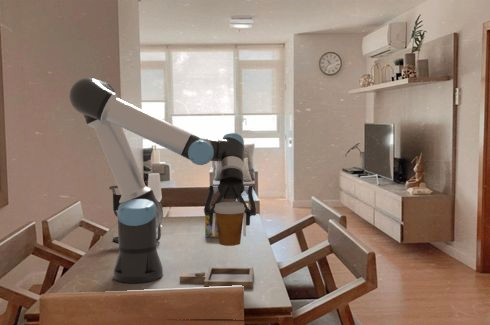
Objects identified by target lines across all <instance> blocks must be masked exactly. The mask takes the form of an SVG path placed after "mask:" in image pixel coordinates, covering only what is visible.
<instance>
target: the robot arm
mask: <svg viewBox="0 0 490 325" xmlns="http://www.w3.org/2000/svg"><path fill="white" fill-rule="evenodd" d="M69 101H70V104H71V106H72V107H73V109H74V110H75V111H77V112H78V113H80V114H82V115H83V118H84V120H85V122H86V124H87V126H88V127H90V128H92V129H93V130H94V132H95V134H96V137H97V139H98V141H99V143H100V144H99V145H100V147H101V149H102V151H103V152H102V153H103V154H104V156H105V159H106V161H107V163H108V166H109V169H110V170H111V173H112V175H113V178H114V180H115V184H116V186H118V188H117V189H118V190H119V192H120V195H121V198H120V201H119V203H120V205H119V207H118V210H117V216H116V217H117V229H118V230H117V234H118V235H117V237H118V238H119V239H118V240H119V243H118V255H117V259H116V261H115V265H114V268H113V279H114V280H115V281H117V282H120V283H127V284H139V283H140V284H141V283H147V282H148V283H149V282H153V281H156V280H159V279H160V278H162V277H163V275H164V273H163V272H164V271H163V270H164V269H163V264H162V261H161V259H160V256H159V253H158V250H157V249H158V248H157V245H158V244H157V242H158V241H157V240H156V238H157V230H158V228H157V227H158V226H159V225H160V223H161V222H162V220H163V216H164V214H163V213H164V210H163V207H162V205H161V202H158V201H157V199H156V198H155V195H154V193H153V191H152V189H151V188H149V187H148V185H146V184H145V181H144V178H143V176H142V173H141V172H140V168H139V166H138V164H137V161H136V159H135V156H134V154H133V151H132V148H131V146H130V144H129V141H128V139H127V136H126V134H125V131H124V129H125V130H127V131H129V132H130V133H133V134H135V135H137V136H140V137H142V138H144V139H146V140H148V141H150V142H152V143H155V144H156V145H158V146H161V147H163V148H164V149H167V150H169V151H171V152H173V153H174V154H178V155H179V156H181V157H183V158H185V159H187V160H190V161H191V163H193V164H194V165H198V166H204V165H208V163H210V162H220V170H219V172H220V175H219V184H218V185H217V186H213V185H209V187H208V188H209V189H208V190H209V193H208V196H207V200H206V202H205V206H204V208H203V212H204V217H205V216H207V215H208V216H209V224H210V225H212V235H213V236H215V231H216V213H215V210H214V208H215V204H217V203H222V202H226V200H236V202H239V203H243V204H244V207H245V211H244V215H243V224H242V235H243V237H247V226H250V225H251V217H252V216H253V217H255V216H257V209H256V204H255V200H254V196H253V193H254V192H253V191H254V189H253V187H254V186H253V185H249V186H245V185H244V169H245V168H244V167H245V166H244V165H245V163H244V162H245V161H244V160H245V140H244V138H243V137H242V135H241V134H239V133H236V132H230V133H226V134H224V135H223V137H222V138H220V139H217V138H208V137H207V138H206V137H199V136H197V135H195V134H193V133H192V132H188V131H186V130H184V129H182V128H180V127H178V126H176V125H174V124H173V123H170V122H167V121H166V120H164V119H162V118H159V117H157V116H156V115H153V114H151V113H149V112H148V111H145V110H144V109H141V108H139V107H137V106H135V105H133V104H131V103H128V102H127V101H124V100H123V99H121V98H119V97H118V95H117V93H116V91H115V88H114V87H112V86H111V84H109V83H108V82H107V81H105V80H102V79H96V78H92V77H83V78H80V79H78V80H77V81H75V83H73V84H72V85H71V88H70V91H69ZM217 192H219V196H218V197H217V198H216V200H215V201H214V198H215V195H216V194H217ZM243 193H245V194H246V195H247V197H248V203H249V207H250V209H249V207H248V205H247V203H246V201H245V199H244V198H243V196H242V194H243ZM213 201H214V204H213ZM210 209H211V210H210ZM161 224H162V223H161Z"/></svg>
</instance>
